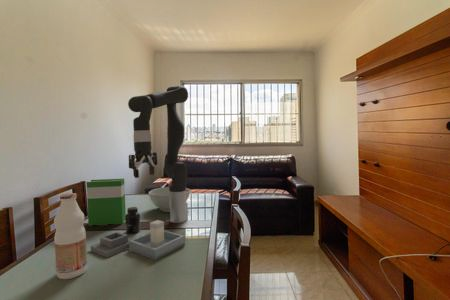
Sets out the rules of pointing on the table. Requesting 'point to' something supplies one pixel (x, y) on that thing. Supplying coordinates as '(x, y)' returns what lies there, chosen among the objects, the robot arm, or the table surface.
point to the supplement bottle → (132, 220)
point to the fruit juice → (70, 239)
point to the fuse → (157, 233)
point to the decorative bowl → (163, 198)
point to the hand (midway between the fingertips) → (144, 176)
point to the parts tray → (144, 248)
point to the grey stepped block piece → (111, 244)
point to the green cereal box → (106, 201)
